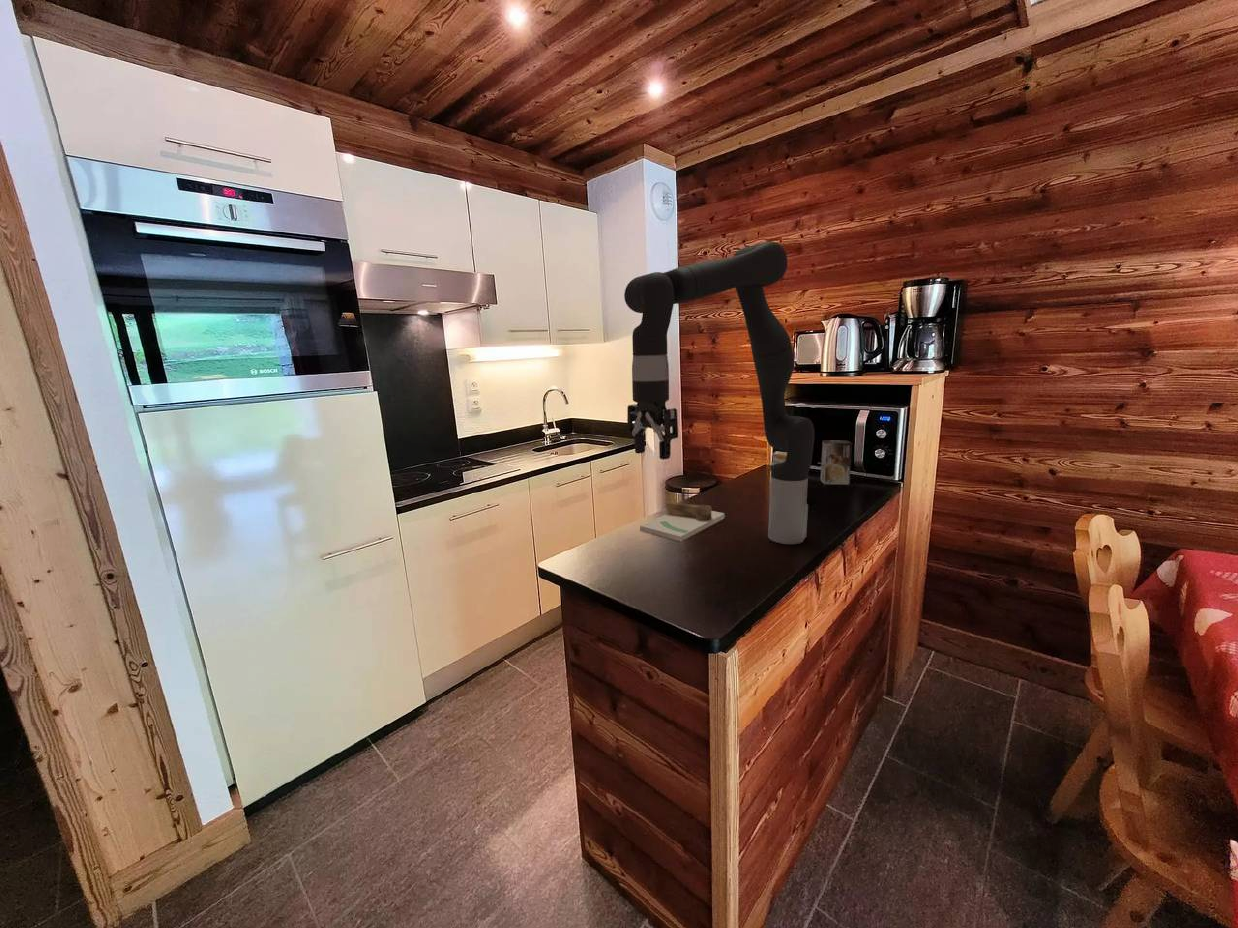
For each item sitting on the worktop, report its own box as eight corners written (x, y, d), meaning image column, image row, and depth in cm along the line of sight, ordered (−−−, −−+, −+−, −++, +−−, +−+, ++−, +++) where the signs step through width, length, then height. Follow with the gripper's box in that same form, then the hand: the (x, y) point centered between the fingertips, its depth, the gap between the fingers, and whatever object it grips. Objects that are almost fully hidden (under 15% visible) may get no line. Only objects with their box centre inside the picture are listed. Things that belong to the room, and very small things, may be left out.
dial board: (685, 509, 156) (686, 505, 156) (724, 518, 147) (724, 513, 147) (640, 530, 139) (640, 525, 138) (681, 541, 129) (681, 536, 129)
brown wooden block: (713, 516, 143) (713, 505, 143) (708, 521, 140) (708, 509, 139) (670, 510, 150) (670, 500, 149) (665, 515, 146) (665, 504, 145)
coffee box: (844, 480, 186) (847, 439, 182) (849, 485, 180) (853, 442, 176) (819, 480, 187) (822, 439, 184) (823, 484, 181) (826, 442, 178)
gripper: (687, 378, 94) (687, 458, 98) (644, 376, 106) (645, 448, 109) (657, 380, 90) (659, 464, 94) (615, 378, 102) (618, 453, 105)
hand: (651, 455), depth 101 cm, fingers open, 8 cm apart
